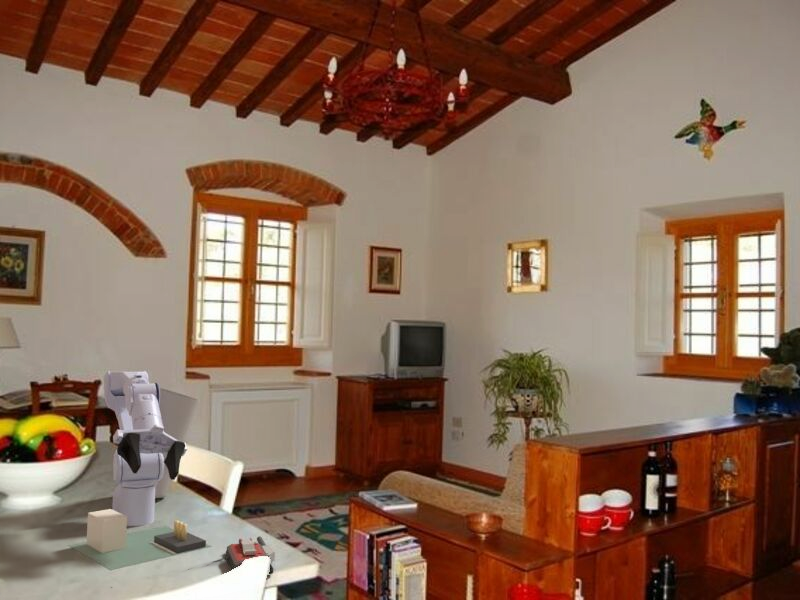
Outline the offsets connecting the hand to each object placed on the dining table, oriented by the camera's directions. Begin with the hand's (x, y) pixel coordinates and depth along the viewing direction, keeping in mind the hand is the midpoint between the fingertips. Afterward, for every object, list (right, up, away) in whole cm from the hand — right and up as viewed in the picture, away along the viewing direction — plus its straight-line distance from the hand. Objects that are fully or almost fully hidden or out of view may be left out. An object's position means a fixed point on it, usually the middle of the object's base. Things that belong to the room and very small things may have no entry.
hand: (156, 472), depth 137 cm
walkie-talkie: (+18, -17, -2) cm, 25 cm away
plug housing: (-10, -14, +1) cm, 17 cm away
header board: (-4, -15, +1) cm, 16 cm away
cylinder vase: (-18, -14, +40) cm, 46 cm away
